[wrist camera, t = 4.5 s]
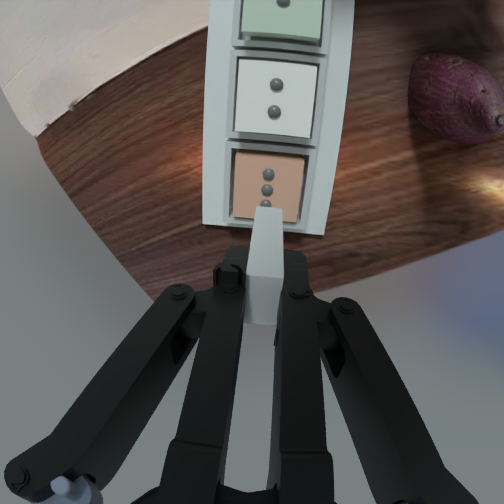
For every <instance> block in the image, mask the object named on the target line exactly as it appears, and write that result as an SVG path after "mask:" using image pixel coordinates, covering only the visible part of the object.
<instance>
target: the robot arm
mask: <svg viewBox="0 0 504 504" xmlns="http://www.w3.org/2000/svg"><path fill="white" fill-rule="evenodd" d="M243 323H249V324H260V325H271V326H276V324H277V328H276V334H275V340H274V346H275V360H274V385H273V408H272V427H271V445H270V446H271V447H270V462H269V474H268V480H267V487H266V490H262V491H256V492H249V493H247V492H242V491H239V490H236V489H233V488H230V487H227V486H224V473H225V464H226V456H227V449H228V441H229V433H230V426H231V418H232V410H233V402H234V395H235V387H236V379H237V372H238V364H239V356H240V348H241V340H242V332H243ZM198 338H200V339H199V343H198V347H197V350H196V355H195V359H194V362H193V366H192V370H191V375H190V378H189V383H188V386H187V391H186V395H185V399H184V403H183V407H182V412H181V416H180V420H179V424H178V428H177V433H176V436H175V438H174V439H173V440H172V441H171V442H170V444H169V448H168V451H167V455H166V459H165V463H164V468H163V472H162V477H161V481H160V486H158V487H155V488H153V489H151V490H149V491H148V492H146V493H145V494H144V495H142V496H141V497H139V498H138V499H136V500H135V501H134V502H132V503H131V504H337V503H336V502H334V473H333V460H332V456H331V454H330V453H329V452H328V450H327V446H326V427H325V410H324V397H323V383H322V370H321V360H320V357H321V359H322V362H323V364H324V367H325V369H326V372H327V374H328V377H329V380H330V382H331V385H332V387H333V390H334V392H335V395H336V398H337V400H338V403H339V406H340V408H341V411H342V413H343V416H344V419H345V421H346V424H347V427H348V429H349V432H350V435H351V437H352V440H353V443H354V445H355V448H356V451H357V454H358V456H359V459H360V462H361V464H362V467H363V470H364V473H365V475H366V478H367V481H368V484H369V487H370V489H371V492H372V494H373V497H374V499H375V501H376V503H377V504H479V503H478V502H477V500H476V499H475V498H474V496H473V495H472V494H471V493H470V492H469V491H468V490H467V489H465V487H464V486H463V485H462V484H461V483H460V482H459V481H458V480H457V479H456V478H455V477H454V476H453V475H452V474H451V473H450V472H449V471H448V470H447V469H446V468H445V467H444V464H443V462H442V460H441V458H440V456H439V453H438V451H437V449H436V447H435V445H434V443H433V440H432V438H431V436H430V434H429V432H428V430H427V428H426V426H425V424H424V422H423V420H422V418H421V416H420V414H419V412H418V410H417V408H416V406H415V404H414V402H413V400H412V398H411V396H410V395H409V393H408V390H407V389H406V387H405V385H404V383H403V381H402V380H401V377H400V376H399V374H398V372H397V370H396V368H395V366H394V364H393V363H392V361H391V359H390V357H389V356H388V354H387V352H386V350H385V348H384V346H383V345H382V343H381V341H380V339H379V338H378V336H377V334H376V332H375V331H374V329H373V327H372V325H371V324H370V322H369V320H368V319H367V317H366V315H365V314H364V312H363V310H362V309H361V307H360V305H359V304H358V303H357V302H355V301H354V300H352V299H349V298H344V297H340V298H336V299H334V300H333V301H332V303H328V302H325V301H322V300H320V299H318V298H317V297H315V296H314V294H313V292H312V290H311V289H310V287H309V279H308V270H307V262H306V257H305V255H304V254H303V253H302V252H301V251H296V250H285V249H283V218H282V208H273V207H261V206H256V211H255V218H254V224H253V231H252V237H251V244H250V247H244V246H233V245H231V246H230V247H229V248H228V249H227V250H226V252H225V255H224V259H223V263H220V264H218V265H217V266H215V268H214V269H213V287H212V288H210V289H208V290H204V291H197V292H194V289H193V288H192V287H191V286H189V285H187V284H174V285H171V286H169V287H168V288H166V289H165V290H164V291H163V292H162V294H161V295H160V296H159V297H158V298H157V300H156V301H155V302H154V303H153V304H152V306H151V307H150V308H149V309H148V310H147V312H146V313H145V314H144V315H143V316H142V318H141V319H140V320H139V321H138V322H137V324H136V325H135V326H134V327H133V329H132V330H131V331H130V332H129V333H128V335H127V336H126V338H124V340H123V341H122V342H121V343H120V345H119V346H118V347H117V348H116V350H115V351H114V352H113V353H112V355H111V356H110V357H109V358H108V360H107V361H106V362H105V363H104V365H103V366H102V367H101V369H100V370H99V371H98V372H97V374H96V375H95V376H94V378H93V379H92V380H91V381H90V383H89V384H88V385H87V386H86V388H85V389H84V390H83V392H82V393H81V394H80V396H79V397H78V398H77V399H76V401H75V402H74V404H73V405H72V406H71V408H70V409H69V410H68V412H67V413H66V414H65V415H64V417H63V418H62V419H61V421H60V422H59V424H58V425H57V426H56V428H55V429H54V430H53V432H52V433H51V434H50V435H49V436H47V437H46V438H44V439H43V440H41V441H40V442H38V443H37V444H35V445H34V446H32V447H31V448H29V449H28V450H26V451H25V452H23V453H22V454H20V455H19V456H17V457H15V458H14V459H12V460H11V461H10V462H9V463H8V464H7V466H6V468H5V471H4V479H5V482H6V485H7V486H8V488H9V489H10V490H11V492H13V493H14V494H16V495H18V496H19V497H21V498H24V499H25V500H28V501H29V502H31V503H32V504H103V497H102V494H101V492H100V491H101V490H102V489H103V488H104V487H105V486H106V485H107V484H108V483H109V482H110V481H111V480H112V478H113V477H114V476H115V474H116V473H117V471H118V470H119V468H120V467H121V465H122V463H123V462H124V460H125V458H126V457H127V455H128V454H129V452H130V450H131V449H132V447H133V445H134V444H135V442H136V441H137V439H138V437H139V436H140V434H141V432H142V431H143V429H144V427H145V426H146V424H147V422H148V421H149V419H150V418H151V416H152V414H153V413H154V411H155V409H156V408H157V406H158V404H159V403H160V401H161V400H162V398H163V396H164V394H165V393H166V391H167V390H168V388H169V386H170V385H171V383H172V382H173V380H174V378H175V377H176V375H177V373H178V372H179V370H180V368H181V367H182V365H183V363H184V362H185V360H186V359H187V357H188V355H189V354H190V352H191V350H192V349H193V347H194V346H195V344H196V342H197V340H198Z"/></svg>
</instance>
